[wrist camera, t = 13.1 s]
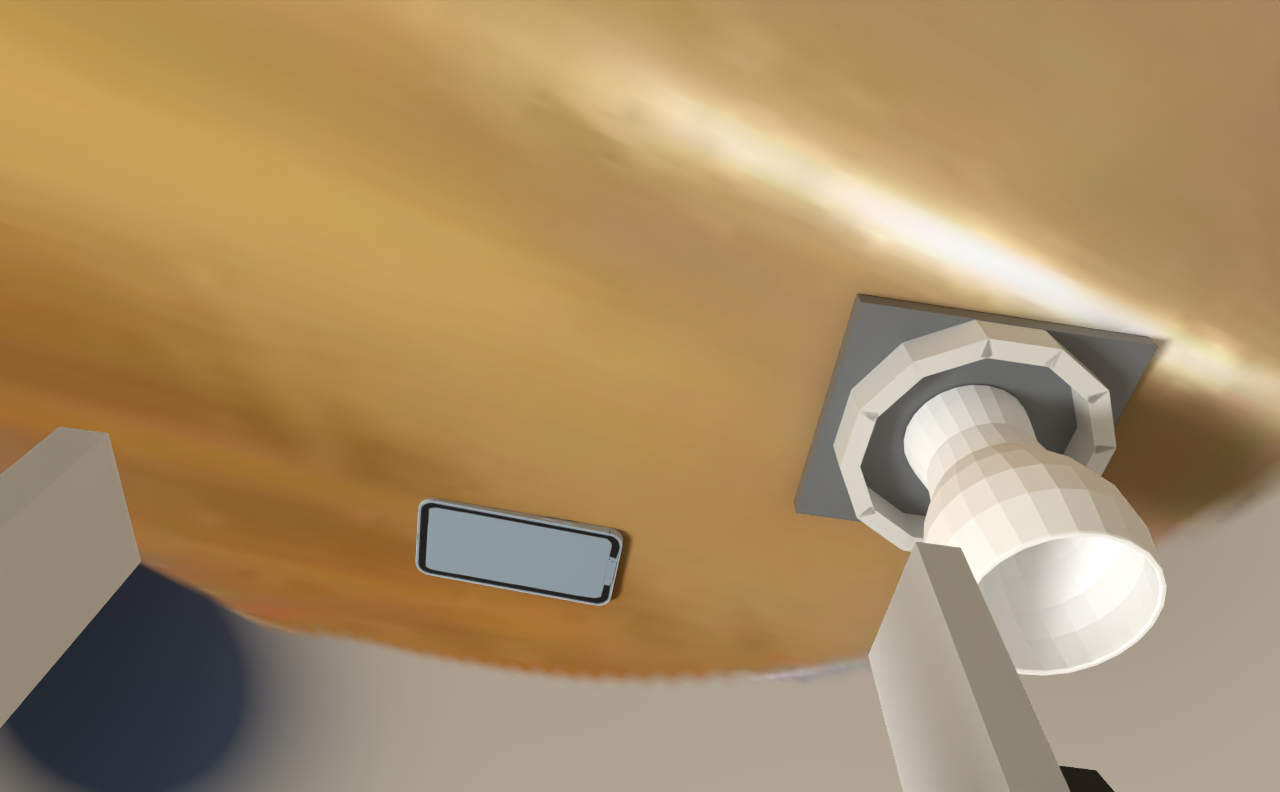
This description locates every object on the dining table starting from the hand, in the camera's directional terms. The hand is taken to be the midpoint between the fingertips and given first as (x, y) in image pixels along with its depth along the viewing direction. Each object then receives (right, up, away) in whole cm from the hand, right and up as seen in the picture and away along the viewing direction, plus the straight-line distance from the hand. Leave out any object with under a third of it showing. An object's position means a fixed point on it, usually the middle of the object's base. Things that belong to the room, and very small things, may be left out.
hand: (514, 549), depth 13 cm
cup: (+23, 0, +38) cm, 44 cm away
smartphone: (-7, -9, +46) cm, 48 cm away
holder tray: (+23, +1, +39) cm, 45 cm away
